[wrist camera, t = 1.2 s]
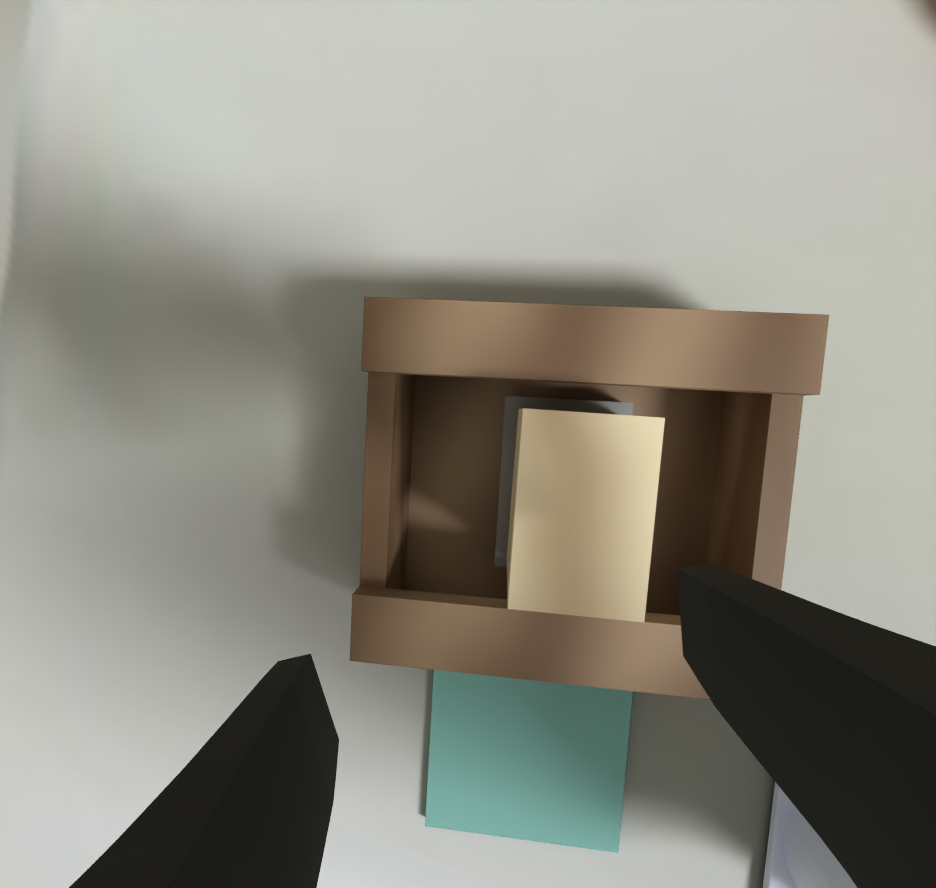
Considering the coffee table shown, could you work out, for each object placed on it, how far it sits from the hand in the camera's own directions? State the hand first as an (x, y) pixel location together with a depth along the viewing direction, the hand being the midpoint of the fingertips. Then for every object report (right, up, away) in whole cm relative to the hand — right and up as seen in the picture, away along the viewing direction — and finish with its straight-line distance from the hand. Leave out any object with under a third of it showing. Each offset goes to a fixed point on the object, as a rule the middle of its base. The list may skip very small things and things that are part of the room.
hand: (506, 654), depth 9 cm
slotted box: (+3, +3, +12) cm, 13 cm away
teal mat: (+2, -10, +12) cm, 16 cm away
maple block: (+3, +2, +9) cm, 10 cm away
